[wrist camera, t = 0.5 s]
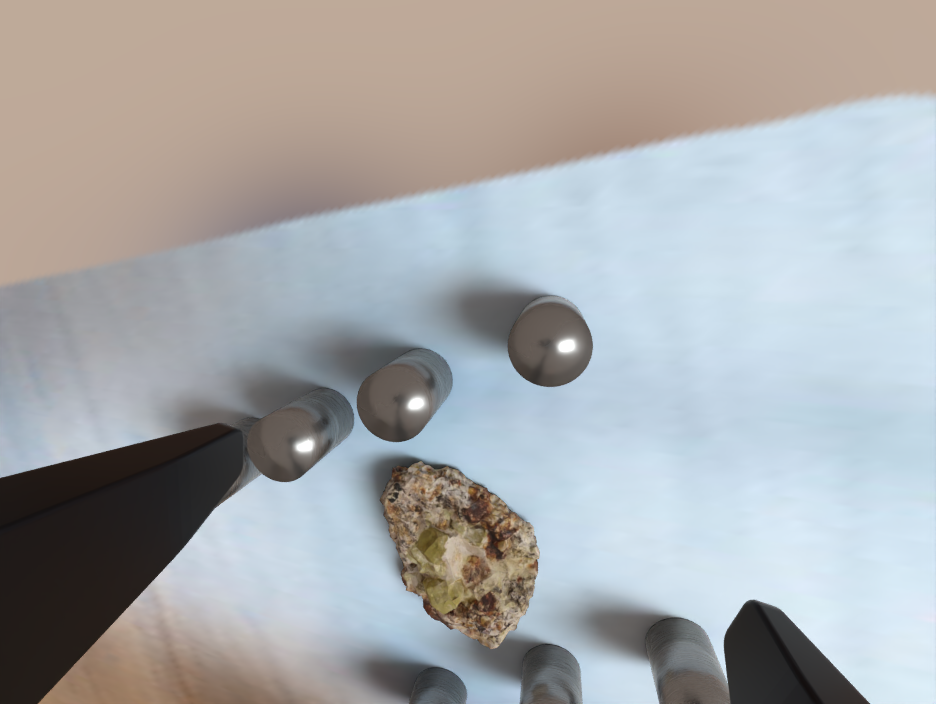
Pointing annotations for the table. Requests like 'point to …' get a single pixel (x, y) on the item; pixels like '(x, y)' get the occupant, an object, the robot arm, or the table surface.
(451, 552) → the mineral rock
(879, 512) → the table surface
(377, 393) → the spacer posts
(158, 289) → the table surface
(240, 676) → the table surface
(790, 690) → the robot arm
